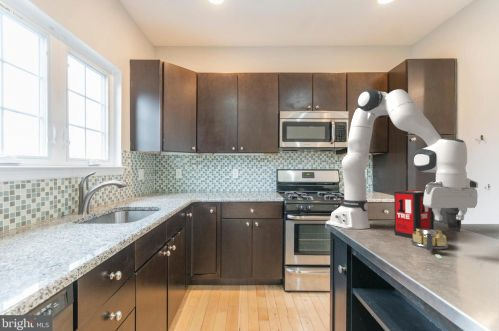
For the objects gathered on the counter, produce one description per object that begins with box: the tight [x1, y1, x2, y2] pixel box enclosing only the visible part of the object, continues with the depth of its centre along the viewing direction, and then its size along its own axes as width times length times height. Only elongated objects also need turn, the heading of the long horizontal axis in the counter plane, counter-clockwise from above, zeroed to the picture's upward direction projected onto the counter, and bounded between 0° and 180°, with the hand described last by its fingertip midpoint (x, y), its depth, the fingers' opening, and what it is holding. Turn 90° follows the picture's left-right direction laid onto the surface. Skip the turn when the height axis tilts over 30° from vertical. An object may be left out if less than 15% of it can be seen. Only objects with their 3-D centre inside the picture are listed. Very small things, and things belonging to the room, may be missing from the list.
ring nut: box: [413, 228, 447, 252], centre depth 98 cm, size 18×11×5 cm, turn 146°
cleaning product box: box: [393, 189, 435, 240], centre depth 118 cm, size 16×9×20 cm, turn 121°
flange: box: [410, 229, 449, 251], centre depth 101 cm, size 12×12×6 cm
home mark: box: [435, 254, 443, 260], centre depth 87 cm, size 4×1×1 cm, turn 155°
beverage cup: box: [444, 208, 462, 233], centre depth 124 cm, size 7×7×20 cm
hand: (449, 220), depth 92 cm, fingers open, 8 cm apart
